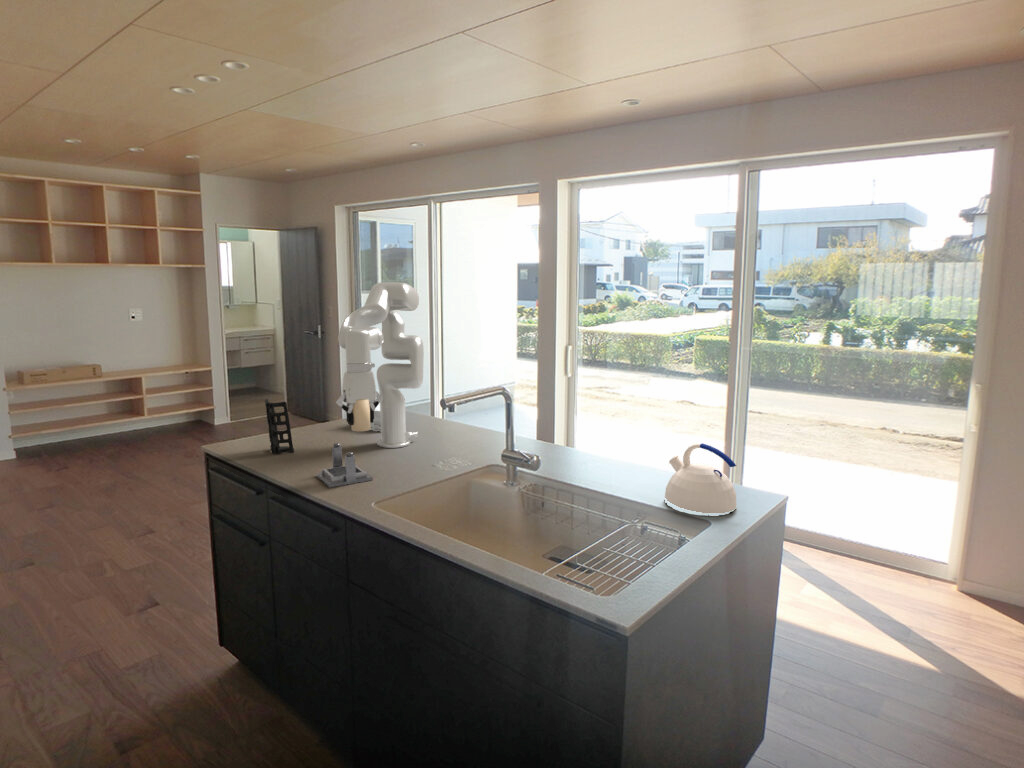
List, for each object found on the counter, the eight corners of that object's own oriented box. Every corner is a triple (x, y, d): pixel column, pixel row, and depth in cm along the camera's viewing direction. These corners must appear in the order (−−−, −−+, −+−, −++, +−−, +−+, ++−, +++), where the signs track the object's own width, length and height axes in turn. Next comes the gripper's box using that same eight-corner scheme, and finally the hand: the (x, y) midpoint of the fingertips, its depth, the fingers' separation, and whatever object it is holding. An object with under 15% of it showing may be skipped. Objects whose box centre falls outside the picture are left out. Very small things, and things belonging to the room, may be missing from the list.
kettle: (687, 487, 199) (689, 431, 196) (750, 505, 184) (754, 444, 181) (648, 503, 186) (651, 443, 182) (713, 523, 171) (717, 458, 168)
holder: (300, 449, 240) (293, 398, 235) (287, 456, 233) (280, 404, 228) (276, 447, 243) (269, 396, 238) (263, 454, 236) (255, 402, 231)
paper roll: (366, 426, 211) (365, 396, 209) (373, 429, 206) (372, 399, 204) (348, 428, 207) (347, 398, 206) (355, 432, 203) (354, 401, 201)
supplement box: (402, 426, 279) (402, 405, 277) (384, 433, 267) (383, 411, 265) (371, 422, 286) (370, 402, 284) (352, 428, 274) (351, 407, 272)
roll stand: (357, 468, 217) (356, 440, 215) (373, 480, 205) (372, 450, 203) (315, 475, 210) (314, 446, 208) (329, 488, 197) (328, 457, 195)
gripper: (379, 364, 211) (381, 418, 214) (328, 368, 202) (330, 424, 205) (388, 367, 205) (390, 422, 208) (336, 371, 196) (338, 428, 199)
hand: (360, 422), depth 206 cm, fingers closed on paper roll, 6 cm apart
